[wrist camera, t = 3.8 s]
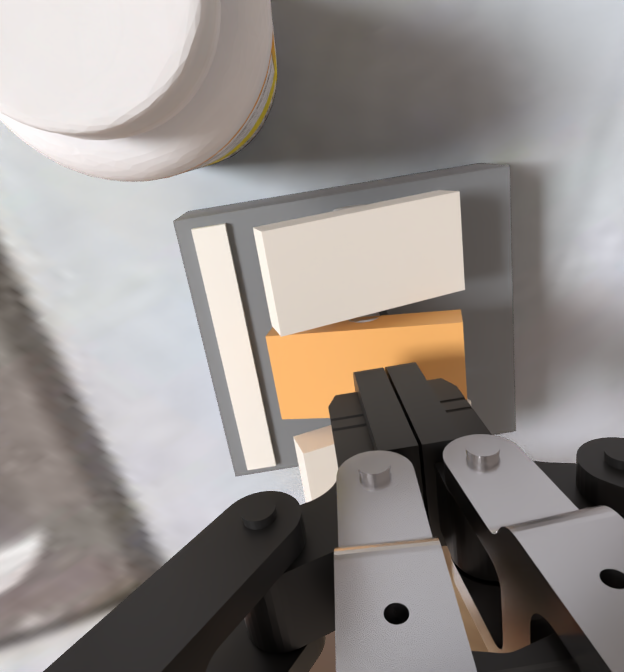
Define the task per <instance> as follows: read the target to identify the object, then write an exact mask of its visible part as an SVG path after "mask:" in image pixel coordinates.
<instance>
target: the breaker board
mask: <svg viewBox="0 0 624 672" xmlns="http://www.w3.org/2000/svg"><path fill="white" fill-rule="evenodd" d="M437 190H446V191H460V208H461V227H462V245H463V263H464V281H465V290H462V291H458V292H454V293H450V294H446V295H442V296H438V297H435V298H431V299H427V300H423V301H419V302H415V303H411V304H407V305H403V306H399V307H395V308H392V309H388V310H384V311H380V312H377V313H379V314H380V316H381V315H394V314H407V313H420V312H433V311H446V310H459V309H461V314H462V320H463V334H464V351H465V368H466V386H467V398H468V399H469V400H471V408H472V409H474V411H475V412H476V413H477V415H478V416H479V418H480V419H481V420H482V422H483V423H484V424H485V426H486V427H487V429H488V430H489V431H490V433H491V434H492V435H495V434H501V433H507V432H513V431H516V425H515V379H514V334H513V289H512V244H511V199H510V166H508V165H496V164H484V163H477V164H471V165H465V166H459V167H453V168H447V169H441V170H435V171H429V172H423V173H417V174H411V175H405V176H399V177H393V178H387V179H381V180H375V181H369V182H363V183H357V184H351V185H344V186H338V187H332V188H326V189H320V190H314V191H308V192H302V193H296V194H290V195H284V196H278V197H272V198H266V199H260V200H254V201H248V202H242V203H236V204H230V205H224V206H217V207H211V208H205V209H199V210H193V211H188V212H186V213H185V214H183V215H182V216H180V217H179V218H177V219H176V220H174V221H173V223H174V227H175V231H176V235H177V239H178V243H179V247H180V251H181V255H182V260H183V264H184V268H185V272H186V276H187V280H188V284H189V288H190V292H191V296H192V300H193V304H194V308H195V313H196V317H197V321H198V325H199V329H200V333H201V337H202V341H203V345H204V349H205V353H206V357H207V362H208V366H209V370H210V374H211V378H212V382H213V386H214V390H215V394H216V398H217V402H218V406H219V411H220V415H221V419H222V423H223V427H224V431H225V435H226V439H227V443H228V447H229V451H230V455H231V459H232V464H233V468H234V472H235V476H242V475H248V474H254V473H260V472H266V471H273V470H279V469H285V468H291V467H297V466H299V464H298V459H297V454H296V449H295V443H294V438H293V436H297V435H300V434H303V433H307V432H310V431H313V430H316V429H320V428H323V427H326V426H329V425H331V421H330V418H311V419H282V417H281V412H280V407H279V402H278V397H277V392H276V387H275V382H274V377H273V372H272V367H271V362H270V357H269V352H268V347H267V342H266V337H265V336H266V335H267V334H268V333H269V331H270V330H271V329H272V324H271V319H270V314H269V309H268V304H267V298H266V293H265V288H264V283H263V278H262V273H261V267H260V262H259V257H258V252H257V247H256V242H255V236H254V231H253V227H258V226H263V225H268V224H273V223H278V222H283V221H288V220H293V219H298V218H303V217H307V216H312V215H317V214H322V213H327V212H332V211H333V210H334V209H337V208H341V207H346V206H352V205H367V204H372V203H377V202H382V201H387V200H392V199H397V198H402V197H407V196H412V195H417V194H422V193H427V192H432V191H437Z"/></svg>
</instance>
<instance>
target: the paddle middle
mask: <svg viewBox="0 0 624 672" xmlns="http://www.w3.org/2000/svg"><path fill="white" fill-rule="evenodd" d="M265 337H266V342H267V347H268V352H269V357H270V362H271V367H272V372H273V377H274V382H275V387H276V392H277V397H278V402H279V407H280V412H281V417H282V419H311V418H330V415H329V409H328V406H329V405H330V403H331V401H332V400H333V398H334V396H335V395H340V394H346V393H352V392H355V386H354V378H353V372H357V371H363V370H370V369H376V368H382V367H383V368H384V370H385V367H387V366H394V365H400V364H406V363H412V362H416V363H417V365H418V367H419V368H420V370H421V372H422V373H423V375H424V376H425V378H426V380H432V379H438V378H442V379H444V380H446V381H448V382H450V383H452V384H454V385H456V386H457V387H458V389H459V390H460V391H461V393H462V394H463V395H464V397H465V399H466V400H467V386H466V368H465V351H464V334H463V320H462V314H461V309H459V310H446V311H433V312H420V313H407V314H394V315H381V316H380V314H379V313H377V312H376V313H372V314H368V315H364V316H360V317H356V318H353V319H349V320H345V321H341V322H337V323H333V324H329V325H325V326H321V327H317V328H314V329H310V330H306V331H302V332H298V333H294V334H290V335H286V336H282V337H281V336H280V335H279V334H278V332H277V331H276V330H275V329H274V328H273V327H272V329H271V330H270V331H269V333H268V334H267V335H266V336H265Z"/></svg>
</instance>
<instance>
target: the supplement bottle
mask: <svg viewBox="0 0 624 672" xmlns="http://www.w3.org/2000/svg"><path fill="white" fill-rule="evenodd" d="M276 84H277V60H276V48H275V39H274V30H273V21H272V11H271V1H270V0H0V120H1V121H2V122H3V123H4V124H5V125H6V126H7V127H8V128H9V129H10V130H11V131H12V132H13V133H14V134H15V135H17V136H18V137H19V138H20V139H21V140H23V141H24V142H25V143H27V144H28V145H29V146H31V147H32V148H34V149H35V150H36V151H38V152H39V153H40V154H42V155H44V156H46V157H47V158H49V159H51V160H53V161H54V162H56V163H58V164H60V165H62V166H64V167H67V168H69V169H72V170H75V171H77V172H80V173H83V174H86V175H88V176H93V177H98V178H102V179H107V180H115V181H132V182H135V181H150V180H157V179H162V178H168V177H171V176H175V175H178V174H181V173H184V172H188V171H191V170H194V169H198V168H201V167H204V166H207V165H211V164H215V163H217V162H220V161H223V160H225V159H227V158H229V157H232V156H233V155H235V154H236V153H237V152H239V151H240V150H241V149H243V148H244V147H245V146H246V145H247V144H248V143H249V142H250V141H251V140H252V139H253V138H254V137H255V136H256V135H257V133H258V132H259V131H260V129H261V128H262V126H263V124H264V122H265V121H266V119H267V117H268V114H269V112H270V109H271V107H272V104H273V100H274V96H275V91H276Z"/></svg>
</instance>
